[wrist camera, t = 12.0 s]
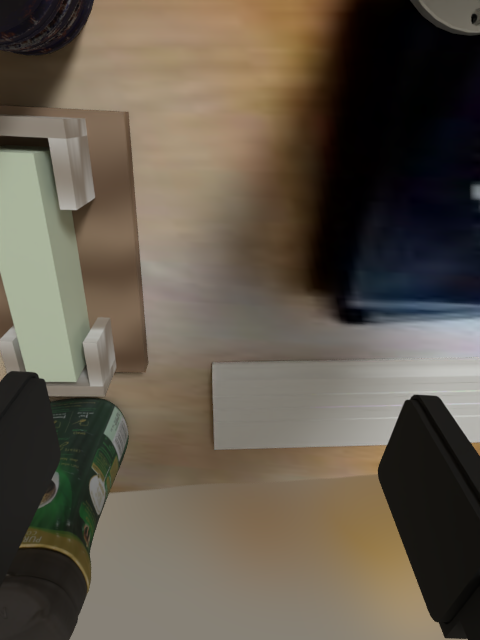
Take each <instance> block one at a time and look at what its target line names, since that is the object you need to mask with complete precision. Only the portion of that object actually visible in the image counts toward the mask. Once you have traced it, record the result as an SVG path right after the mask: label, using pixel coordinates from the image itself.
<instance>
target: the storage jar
mask: <svg viewBox="0 0 480 640" xmlns="http://www.w3.org/2000/svg"><path fill="white" fill-rule="evenodd" d="M93 1H94V0H0V50H2V51H9V52H13V53H17V54H23V55H43V54H48V53H51V52H54V51H56V50H59V49H61V48H62V47H64V46H65V45H67V44H68V43H70V42H71V41H72V40H73V39H74V38H75V37H76V36H77V35H78V34H79V32H80V31H81V29H82V28H83V26H84V25H85V23H86V21H87V19H88V17H89V14H90V12H91V9H92V5H93Z"/></svg>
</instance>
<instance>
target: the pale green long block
mask: <svg viewBox="0 0 480 640" xmlns="http://www.w3.org/2000/svg"><path fill="white" fill-rule="evenodd" d="M0 273H1V277H2V281H3V285H4V289H5V292H6V296H7V300H8V304H9V308H10V312H11V315H12V319H13V323H14V327H15V331H16V335H17V338H18V342H19V346H20V350H21V354H22V358H23V361H24V365H25V369H26V372H35V373H37V374H38V376H39V378H42V379H44V380H45V382H77V380H78V378H79V376H80V374H81V372H82V371H83V369H84V367H85V365H86V359H85V353H84V347H83V341H84V340H85V338H86V336H87V335H88V333H89V331H90V325H89V318H88V312H87V306H86V299H85V293H84V286H83V280H82V273H81V267H80V261H79V254H78V248H77V241H76V235H75V229H74V222H73V216H72V210H60V206H59V200H58V194H57V188H56V182H55V176H54V171H53V165H52V159H51V153H50V147H36V146H15V145H5V146H0Z"/></svg>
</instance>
